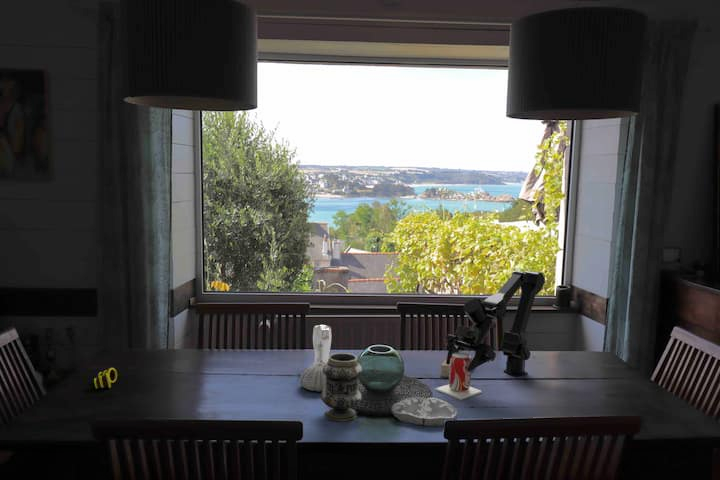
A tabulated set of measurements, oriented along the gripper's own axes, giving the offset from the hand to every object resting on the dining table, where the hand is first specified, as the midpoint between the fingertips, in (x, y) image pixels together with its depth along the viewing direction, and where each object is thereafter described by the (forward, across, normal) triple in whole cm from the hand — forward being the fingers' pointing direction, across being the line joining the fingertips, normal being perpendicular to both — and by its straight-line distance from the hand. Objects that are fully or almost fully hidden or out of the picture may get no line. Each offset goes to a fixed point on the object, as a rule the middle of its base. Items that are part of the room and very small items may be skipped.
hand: (457, 367), depth 193 cm
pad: (+5, 0, +7) cm, 9 cm away
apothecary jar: (+37, -8, -24) cm, 45 cm away
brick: (-6, -15, +19) cm, 24 cm away
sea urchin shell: (+31, -31, -18) cm, 47 cm away
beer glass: (+21, -49, -8) cm, 54 cm away
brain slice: (+23, +7, -10) cm, 26 cm away
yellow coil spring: (+71, -75, -58) cm, 118 cm away
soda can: (+5, 0, +7) cm, 8 cm away
